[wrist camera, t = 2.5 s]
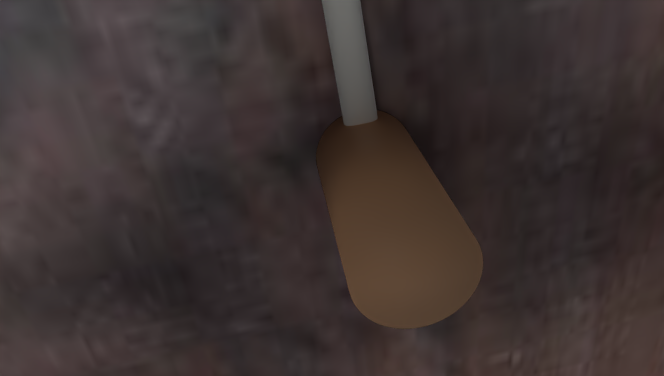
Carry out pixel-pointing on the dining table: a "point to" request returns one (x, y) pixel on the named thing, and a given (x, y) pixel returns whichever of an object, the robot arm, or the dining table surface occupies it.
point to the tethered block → (388, 199)
